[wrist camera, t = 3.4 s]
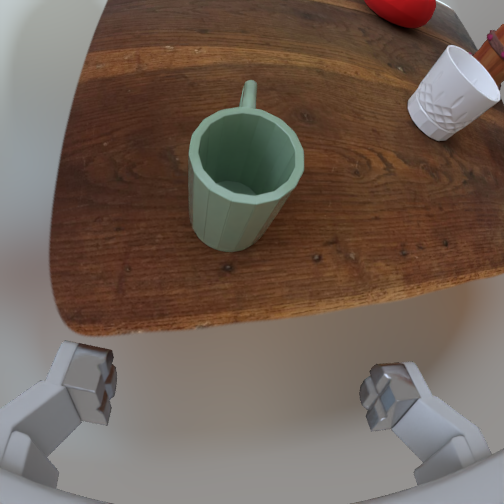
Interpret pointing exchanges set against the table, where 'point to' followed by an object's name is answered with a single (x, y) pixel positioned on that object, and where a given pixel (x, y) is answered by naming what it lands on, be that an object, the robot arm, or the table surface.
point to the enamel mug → (240, 173)
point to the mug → (493, 55)
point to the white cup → (452, 94)
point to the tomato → (404, 11)
